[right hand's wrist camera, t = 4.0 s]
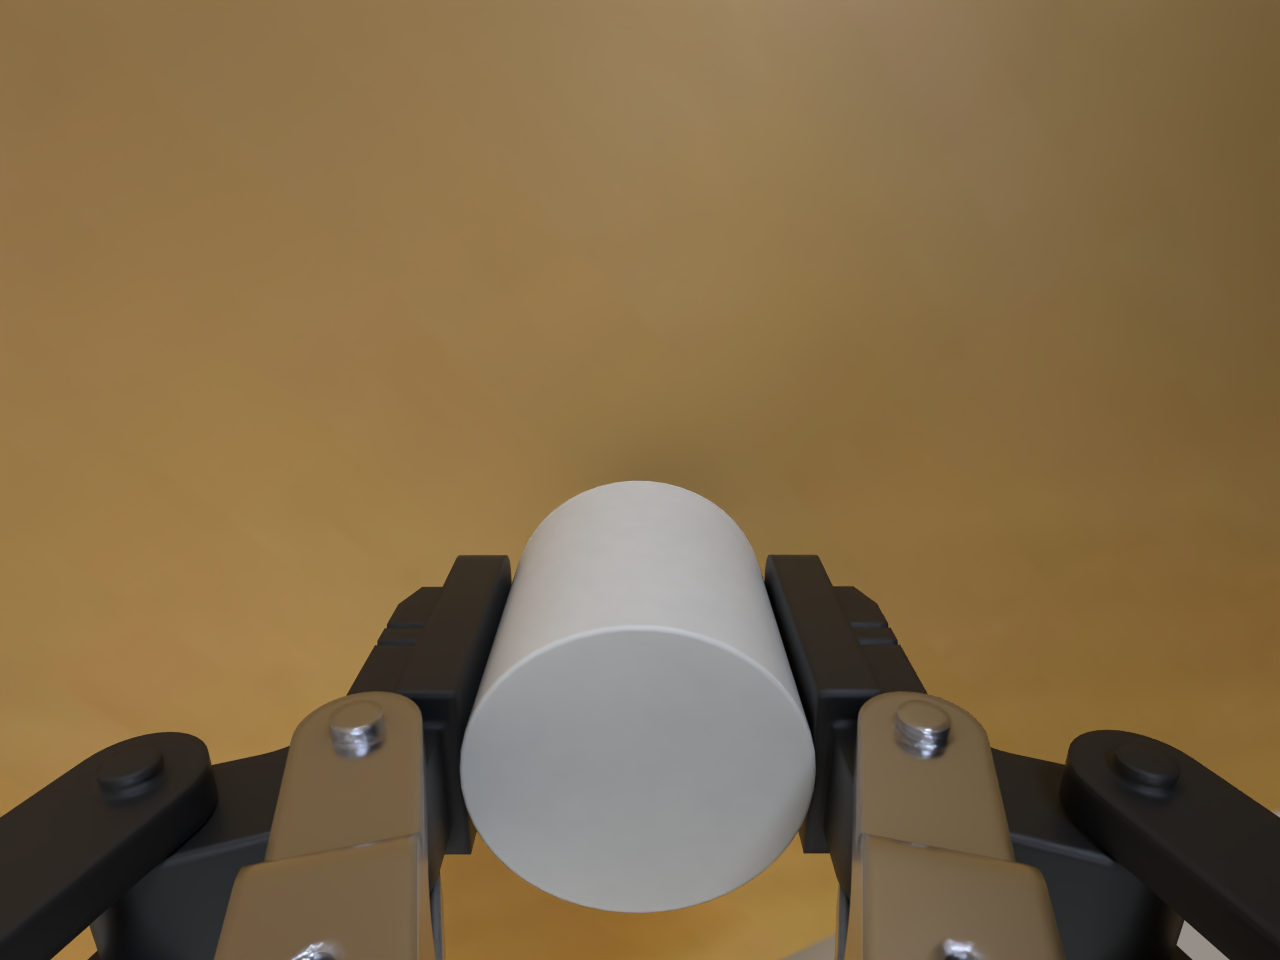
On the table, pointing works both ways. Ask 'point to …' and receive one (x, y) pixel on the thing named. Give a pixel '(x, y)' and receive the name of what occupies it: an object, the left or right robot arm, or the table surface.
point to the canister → (637, 709)
